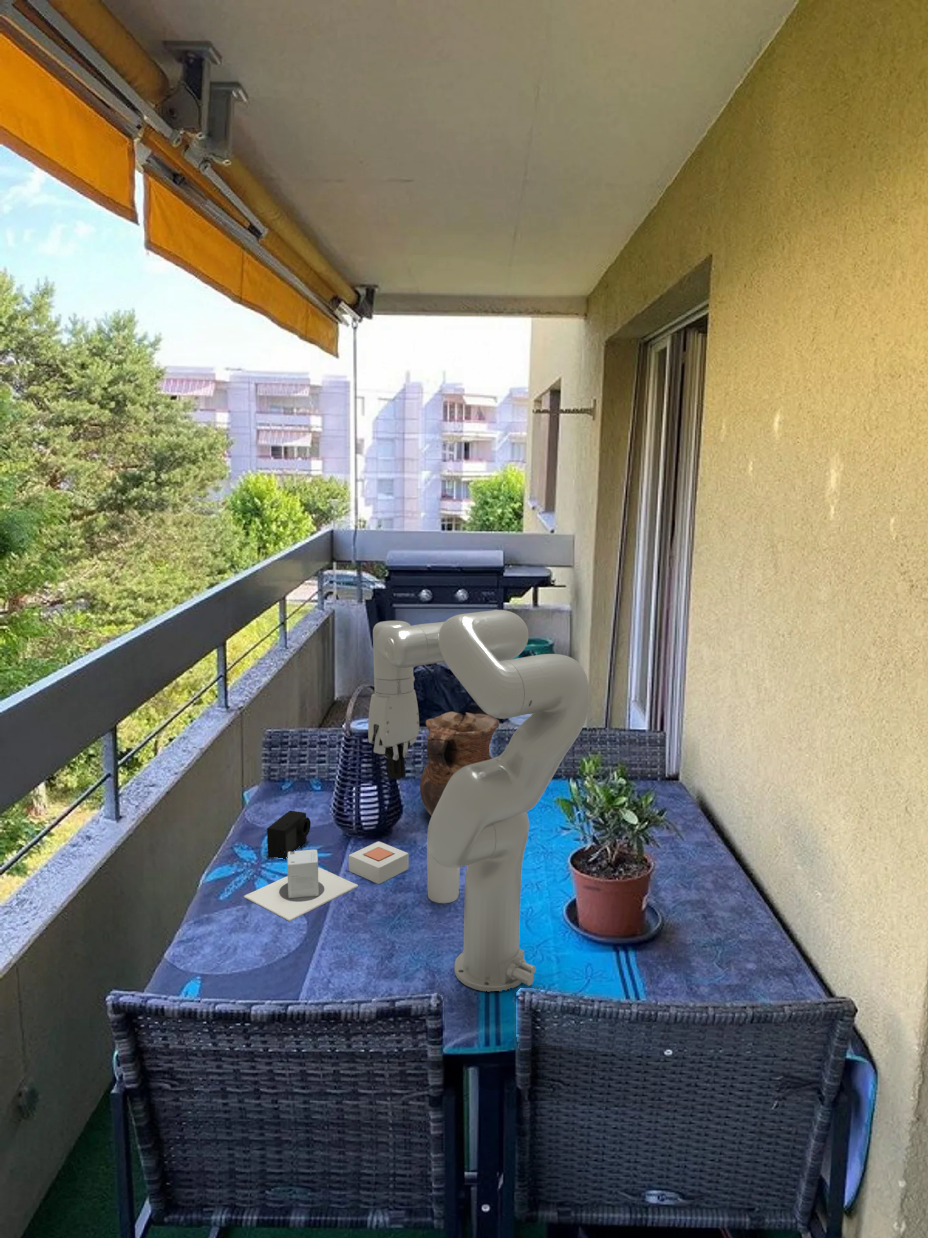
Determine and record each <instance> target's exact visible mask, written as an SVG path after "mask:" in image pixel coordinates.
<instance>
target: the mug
mask: <svg viewBox="0 0 928 1238" xmlns="http://www.w3.org/2000/svg"><path fill="white" fill-rule="evenodd" d="M426 864H427V865H426V867H427V868H426V869H427V871H426V872H427V897H428V899H429V900H430V901H432V902H433V903H437V904H449V903H452V902H455V901H457V899H459V891H460V878H461V877H460V874H461V873H460V872H461V867H458V868H447V867H444V866H442V865H440V864H439V863H438V862H436V861H435V859H434V858H433V857H432V855H431V853H430V850H429V847H428V841H427V840H426Z"/></svg>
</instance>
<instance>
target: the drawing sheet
mask: <svg viewBox="0 0 928 1238" xmlns="http://www.w3.org/2000/svg"><path fill="white" fill-rule="evenodd" d="M318 886H319V895H318V896H310V897H298V898H289V897H288V875H287V876H284V877H282V878H280V879H278V880H275V881H274V882H272V883H269V884H267V885H264V886H263V887H260V888H258V889H256V890H254V891H251V892H249V893H247V894H245V895H243V898H245V899H247V900H248V901H250V902H252V903H254V904H256V905H258V906H259V907H262V908H264V909H265V910H267V911H269V912H271V913H273V914H275V915H277V916H279V917H280V918H282V919H284V920H287V921H288V922H291V921H294V920H295V919H297V918H299V917H301V916H303V915H305V914H307V913H308V912H311V911H313V910H315V909H317V908H319V907H320V906H323V905H324V904H327V903H329V902H330V901H333V900H335V899H336V898H339V897H341V896H342V895H345V894H347V893H349V892H350V891H352V890H354V889H356V888H358V887H359V885H358V884H357V883H355V882H352V881H349V880H348V879H346V878H344V877H341V876H339V875H337V874H335V873H332V872H330V871H328V870H326V869H324V868H321V867H319V866H318Z"/></svg>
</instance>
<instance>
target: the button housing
mask: <svg viewBox="0 0 928 1238" xmlns="http://www.w3.org/2000/svg"><path fill="white" fill-rule="evenodd" d="M378 847H379V848H382V849H384V850H386V851H389V852H391V853H393V855H392V856H390V857H388V858H386V859H384V860H381V861H379V862H378V861H376V860H373V859H371V858H369V857H366V856H364V854H365V853H368V852H370V851H372V850H374V849H376V848H378ZM409 860H410V859H409V853H408V852H406V851H404V850H401V849H399V848H396V847H394V846H391V845H389V844H386V843H384V842H382V841H379V840H378V841H376V842H374V843H372V844H369V845H367V846H365V847H363V848H361V849H359V850H357V851H355V852H352V853H350V854H348V871H349V872H351V873H353V874H355V875H358V876H360V877H362V878H364V879H366V880H369V881H371V882H373V883H375V884H378V885H380V884H382V883H385V882H386V881H388V880H390V879H392V878H393V877H395V876H398V875H399V874H401V873H404V872H406V871H407V870H409Z"/></svg>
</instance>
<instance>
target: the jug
mask: <svg viewBox="0 0 928 1238" xmlns="http://www.w3.org/2000/svg"><path fill="white" fill-rule="evenodd" d="M425 725H426V726H425V727H426V728H427V730H428V731H429V733H428V735H427V742H426V754H427V760H428V763H427V764H426V766H425V767H424V769H423V771H422V773H421V776H420V781H419V794H420V798H421V801H422V805H423V807H424V808H425V810H426V812H427V813H428V814H429V815H430V816H431V817H432V814H433V812H434V810H435V808H436V806H437V804H438V802H439V800H440V798H441V796H442V793H443V791H444V789H445V787H446V785H447V783H448V781H449V780H450V778H451V777H452V776H453V774H455V773H456V772H457V771H458V770H459V769H461V768H463V767H465V766H467V765H470V764H474V763H478V762H482V761H486V760H490V759H492V756H491V755H490V746H491V740H492V737H493V735H494V733H495V732H496V730H497V728H498V727H499V726H500V725H501V724H500V720H499V718H494V717H492V716H490V715H488V714H485V713H472V712H465V715H463V714H462V713H460V712H456V711H448V712H445V713H442V714H441V715H438V716H435V717H434V718H429V719H426V720H425Z"/></svg>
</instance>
